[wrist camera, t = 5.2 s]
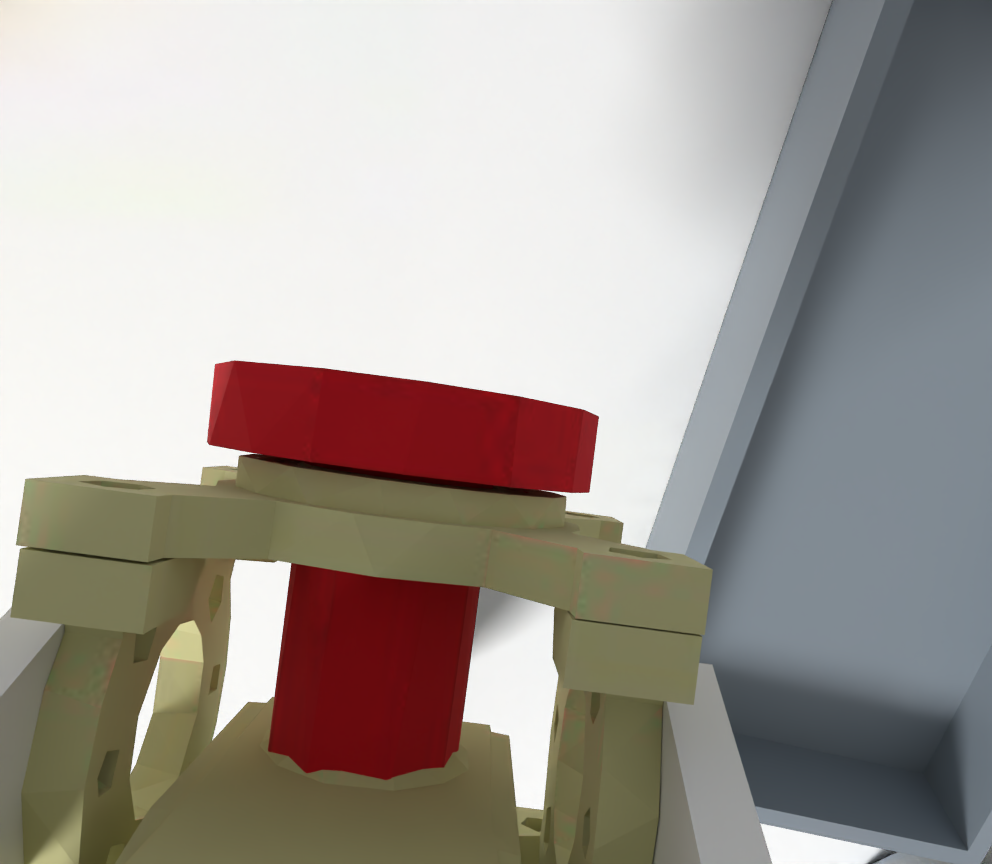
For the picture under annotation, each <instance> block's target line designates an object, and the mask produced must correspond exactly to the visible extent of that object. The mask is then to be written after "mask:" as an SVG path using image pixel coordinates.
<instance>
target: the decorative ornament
mask: <svg viewBox="0 0 992 864" xmlns="http://www.w3.org/2000/svg"><path fill="white" fill-rule="evenodd" d="M873 864H953V863H948V862H943V861H938V860H934V859H929V858H924V857H919V856H915V855H910V854H905V853H900V852H897V853H894V854H892V855H890V856H888V857H886V858H883V859H882V860H880V861H878V862H875V863H873Z"/></svg>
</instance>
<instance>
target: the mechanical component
mask: <svg viewBox="0 0 992 864" xmlns="http://www.w3.org/2000/svg"><path fill="white" fill-rule="evenodd" d="M598 419H599V416H596V415H594V414H592V413H590V412H588V411H585V410H582V409H578V408H573V407H568V406H563V405H558V404H553V403H549V402H544V401H539V400H534V399H529V398H524V397H520V396H513V395H507V394H501V393H494V392H488V391H482V390H476V389H469V388H463V387H457V386H451V385H444V384H438V383H432V382H425V381H417V380H410V379H402V378H394V377H387V376H379V375H371V374H364V373H356V372H348V371H340V370H333V369H325V368H314V367H303V366H291V365H279V364H268V363H256V362H245V361H230V362H224V363H219V364H215V370H214V380H213V390H212V399H211V409H210V419H209V429H208V439H207V442H208V444H209V445H213V446H218V447H224V448H229V449H235V450H240V451H245V452H251V453H257V454H249V455H241V456H239V460H238V467H230V466H217V467H203V470H202V477H201V484H200V485H193V484H179V483H164V482H150V481H135V480H120V479H111V478H103V477H96V476H88V475H79V476H63V477H48V478H32V479H25V486H24V493H23V500H22V507H21V514H20V520H19V527H18V534H17V541H16V545H19V546H27V547H26V548H22V549H20V553H19V560H18V567H17V574H16V581H15V588H14V595H13V602H12V608H11V615H10V617H11V618H19V619H27V620H34V621H42V622H50V623H58V624H65V633H64V635H63V638H62V641H61V644H60V647H59V649H58V652H57V655H56V658H55V660H54V663H53V666H52V669H51V672H50V674H49V677H48V680H47V683H46V686H45V688H44V692H43V697H42V701H41V706H40V710H39V714H38V719H37V723H36V728H35V732H34V737H33V741H32V746H31V750H30V755H29V759H28V764H27V769H26V773H25V778H24V782H23V787H22V792H21V802H22V827H23V853H24V864H652V861H653V854H654V848H655V841H656V834H657V827H658V820H659V801H660V770H661V738H662V707H663V702H664V701H666V702H674V703H681V704H689V705H694V699H695V691H696V683H697V675H698V667H699V660H700V652H701V644H702V636H701V635H705V628H706V620H707V612H708V604H709V597H710V589H711V581H712V573H713V569H711V568H709V567H707V566H705V565H703V564H701V563H699V562H697V561H695V560H693V559H691V558H689V557H688V556H686V555H684V554H678V553H670V552H663V551H656V550H649V549H645V548H640V547H635V546H630V545H625V544H621V538H622V530H623V523H622V522H620V521H618V520H616V519H614V518H612V517H607V516H600V515H592V514H585V513H577V512H570V511H565V508H566V496H563V495H559V494H556V493H552V492H547V491H558V492H569V493H589V491H590V483H591V475H592V467H593V459H594V451H595V443H596V435H597V427H598ZM262 454H263V455H262ZM542 490H546V491H542ZM235 559H237V560H250V561H262V562H276V561H283V562H289V563H291V571H290V579H289V587H288V595H287V603H286V610H285V618H284V626H283V634H282V642H281V650H280V658H279V666H278V674H277V682H276V689H275V697H272V698H271V699H270V700H269V701H268V702H267V703H257V702H248V703H247V704H246V705H245V706H244V707H243V708H242V709H241V710H240V711H239V713H238V714H237V715H236V716H235V717H234V718H233V719H232V720H231V721H230V722H229V723H228V724H227V725H226V727H225V728H224V729H223V730H222V731H221V732H220V733H219V734H218V735H217V736H216V737H215V738H214V740H213V741H212V738H213V734H214V730H215V726H216V722H217V716H218V711H219V705H220V699H221V693H222V688H223V682H224V676H225V670H226V664H227V652H228V641H229V630H230V619H231V597H230V579H231V575H232V571H233V567H234V562H235ZM480 587H485V588H489V589H492V590H496V591H499V592H503V593H506V594H510V595H514V596H517V597H521V598H524V599H528V600H531V601H535V602H539V603H542V604H546V605H549V606H553V607H555V608H554V634H553V660H554V663H555V666H556V669H557V672H558V675H559V677H558V684H557V691H556V698H555V705H554V712H553V720H552V727H551V735H550V746H549V757H548V768H547V779H546V790H545V801H544V810H538V809H530V808H522V807H516V801H515V791H514V781H513V770H512V760H511V750H510V739H509V736H508V735H503V734H498V733H494V732H491V729H490V725H485V724H477V723H469V722H462V720H463V712H464V705H465V697H466V690H467V682H468V674H469V667H470V659H471V651H472V644H473V636H474V629H475V621H476V613H477V606H478V598H479V590H480ZM159 656H160V664H159V671H158V679H157V686H156V694H155V701H154V709H153V714H152V717H151V720H150V723H149V727H148V730H147V733H146V736H145V739H144V742H143V745H142V748H141V751H140V754H139V757H138V760H137V763H136V765H135V767H134V769H133V771H132V773H131V774H130V772H131V764H132V757H133V750H134V743H135V736H136V728H137V721H138V715H139V713H140V710H141V707H142V704H143V701H144V699H145V696H146V693H147V690H148V687H149V684H150V682H151V679H152V676H153V673H154V670H155V668H156V665H157V662H158V659H159Z"/></svg>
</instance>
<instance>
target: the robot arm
mask: <svg viewBox="0 0 992 864" xmlns="http://www.w3.org/2000/svg"><path fill="white" fill-rule="evenodd" d="M11 608H12V607H11ZM11 608H10V609H9V610H8V612H7V613H6V614H5V615H4V616H3V617H2V618H1V619H0V864H24V853H23V827H22V802H21V792H22V787H23V782H24V778H25V773H26V769H27V764H28V759H29V755H30V750H31V746H32V741H33V737H34V732H35V728H36V723H37V719H38V714H39V710H40V706H41V701H42V697H43V692H44V688H45V686H46V683H47V680H48V677H49V674H50V672H51V669H52V666H53V663H54V660H55V658H56V655H57V652H58V649H59V647H60V644H61V641H62V638H63V635H64V633H65V624H58V623H50V622H42V621H34V620H27V619H19V618H11V617H10V615H11ZM652 864H772V861H771V858H770V855H769V851H768V848H767V845H766V842H765V838H764V835H763V832H762V828H761V825H760V822H759V818H758V815H757V812H756V808H755V805H754V802H753V798H752V795H751V792H750V788H749V785H748V782H747V778H746V775H745V772H744V768H743V765H742V762H741V758H740V755H739V752H738V748H737V745H736V742H735V738H734V735H733V732H732V728H731V725H730V722H729V718H728V715H727V712H726V709H725V705H724V702H723V699H722V695H721V692H720V689H719V685H718V682H717V679H716V675H715V672H714V669H713V665H712V664H704V663H699V667H698V675H697V683H696V691H695V699H694V705H689V704H681V703H674V702H666V701H664V702H663V707H662V738H661V770H660V801H659V820H658V827H657V834H656V841H655V848H654V854H653V861H652Z"/></svg>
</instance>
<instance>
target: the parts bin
mask: <svg viewBox="0 0 992 864" xmlns="http://www.w3.org/2000/svg"><path fill="white" fill-rule="evenodd" d="M646 549H649V550H656V551H663V552H670V553H678V554H684V555H686V556H688V557H689V558H691V559H693V560H695V561H697V562H699V563H701V564H703V565H705V566H707V567H709V568H711V569H713V573H712V581H711V589H710V597H709V604H708V612H707V620H706V628H705V635H701V636H702V644H701V652H700V660H699V663H704V664H712V665H713V669H714V672H715V675H716V679H717V682H718V685H719V689H720V692H721V695H722V699H723V702H724V705H725V709H726V712H727V715H728V718H729V722H730V725H731V728H732V732H733V735H734V738H735V742H736V745H737V748H738V752H739V755H740V758H741V762H742V765H743V768H744V772H745V775H746V778H747V782H748V785H749V788H750V792H751V795H752V798H753V802H754V805H755V808H756V812H757V815H758V818H759V822H760V823H762V824H767V825H771V826H776V827H781V828H786V829H790V830H795V831H800V832H805V833H810V834H814V835H819V836H824V837H829V838H833V839H838V840H843V841H848V842H853V843H857V844H862V845H867V846H872V847H876V848H881V849H886V850H891V851H895V852H900V853H905V854H910V855H915V856H919V857H924V858H929V859H934V860H938V861H943V862H948V863H953V864H981V863H982V861H983V859H984V858H985V856H986V854H987V852H988V851H989V849H990V847H991V846H992V0H833V1H832V4H831V7H830V9H829V12H828V15H827V18H826V21H825V24H824V27H823V30H822V33H821V36H820V39H819V42H818V45H817V48H816V50H815V53H814V56H813V59H812V62H811V65H810V68H809V71H808V74H807V77H806V80H805V83H804V86H803V89H802V92H801V94H800V97H799V100H798V103H797V106H796V109H795V112H794V115H793V118H792V121H791V124H790V127H789V130H788V133H787V136H786V138H785V141H784V144H783V147H782V150H781V153H780V156H779V159H778V162H777V165H776V168H775V171H774V174H773V177H772V180H771V182H770V185H769V188H768V191H767V194H766V197H765V200H764V203H763V206H762V209H761V212H760V215H759V218H758V221H757V223H756V226H755V229H754V232H753V235H752V238H751V241H750V244H749V247H748V250H747V253H746V256H745V259H744V262H743V265H742V267H741V270H740V273H739V276H738V279H737V282H736V285H735V288H734V291H733V294H732V297H731V300H730V303H729V306H728V309H727V311H726V314H725V317H724V320H723V323H722V326H721V329H720V332H719V335H718V338H717V341H716V344H715V347H714V350H713V352H712V355H711V358H710V361H709V364H708V367H707V370H706V373H705V376H704V379H703V382H702V385H701V388H700V391H699V394H698V396H697V399H696V402H695V405H694V408H693V411H692V414H691V417H690V420H689V423H688V426H687V429H686V432H685V435H684V438H683V440H682V443H681V446H680V449H679V452H678V455H677V458H676V461H675V464H674V467H673V470H672V473H671V476H670V479H669V482H668V484H667V487H666V490H665V493H664V496H663V499H662V502H661V505H660V508H659V511H658V514H657V517H656V520H655V523H654V525H653V528H652V531H651V534H650V537H649V540H648V543H647V546H646Z"/></svg>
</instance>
